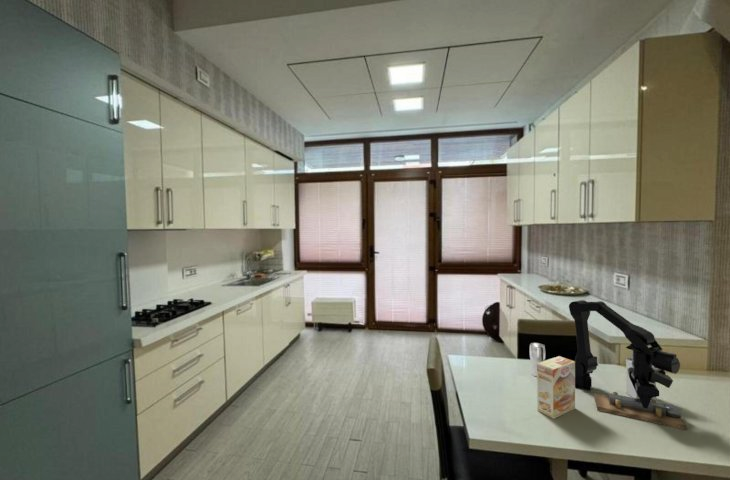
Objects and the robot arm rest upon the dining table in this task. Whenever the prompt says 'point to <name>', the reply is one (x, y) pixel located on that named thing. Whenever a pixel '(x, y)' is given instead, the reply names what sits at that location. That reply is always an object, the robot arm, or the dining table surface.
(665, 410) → the grey ball-topped bar
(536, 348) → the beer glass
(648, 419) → the tool rest
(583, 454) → the dining table surface
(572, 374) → the coffeecake box
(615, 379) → the dining table surface
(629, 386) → the milk carton
